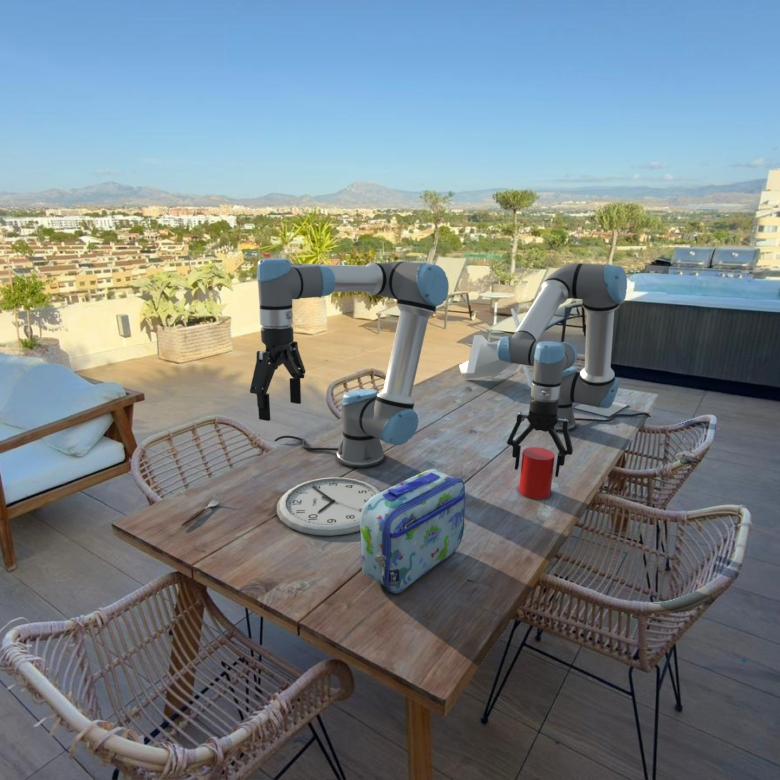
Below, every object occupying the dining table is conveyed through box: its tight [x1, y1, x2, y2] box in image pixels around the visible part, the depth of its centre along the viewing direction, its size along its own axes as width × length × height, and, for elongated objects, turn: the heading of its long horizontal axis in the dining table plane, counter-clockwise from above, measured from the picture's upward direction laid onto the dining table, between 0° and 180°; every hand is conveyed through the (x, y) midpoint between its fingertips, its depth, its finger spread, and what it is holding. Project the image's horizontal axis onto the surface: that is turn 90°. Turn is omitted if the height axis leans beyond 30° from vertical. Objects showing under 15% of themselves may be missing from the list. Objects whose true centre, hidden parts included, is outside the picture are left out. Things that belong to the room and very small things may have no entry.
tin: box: [518, 446, 556, 500], centre depth 150 cm, size 9×9×12 cm
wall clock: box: [276, 476, 382, 537], centre depth 142 cm, size 30×2×30 cm
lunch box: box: [359, 468, 466, 594], centre depth 114 cm, size 26×11×21 cm, turn 134°
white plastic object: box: [458, 307, 533, 389], centre depth 255 cm, size 37×45×31 cm
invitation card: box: [573, 400, 629, 418], centre depth 226 cm, size 21×1×15 cm
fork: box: [180, 491, 225, 527], centre depth 138 cm, size 3×16×2 cm, turn 160°
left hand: (280, 411), depth 130 cm, fingers open, 13 cm apart
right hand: (536, 471), depth 150 cm, fingers open, 11 cm apart
